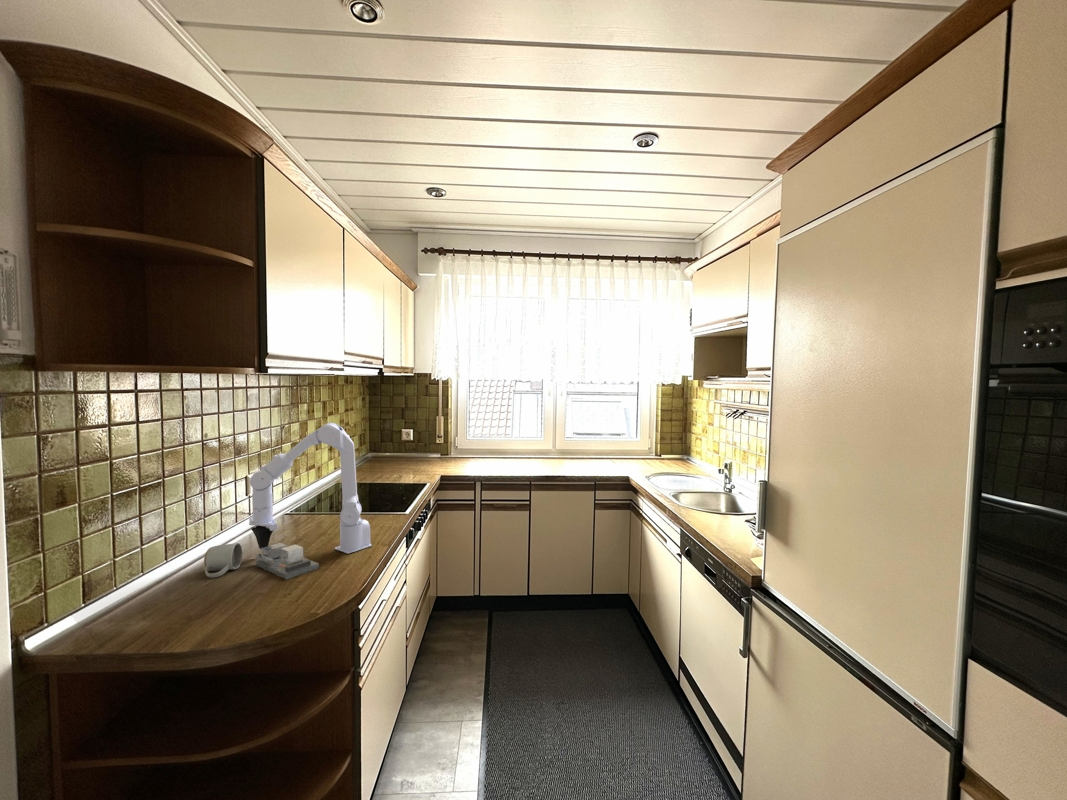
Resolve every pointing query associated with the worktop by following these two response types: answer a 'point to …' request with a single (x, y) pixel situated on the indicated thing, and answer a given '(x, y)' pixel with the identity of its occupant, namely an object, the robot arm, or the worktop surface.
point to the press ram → (273, 550)
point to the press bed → (287, 571)
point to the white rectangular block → (291, 555)
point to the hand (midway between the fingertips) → (263, 547)
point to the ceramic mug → (222, 559)
